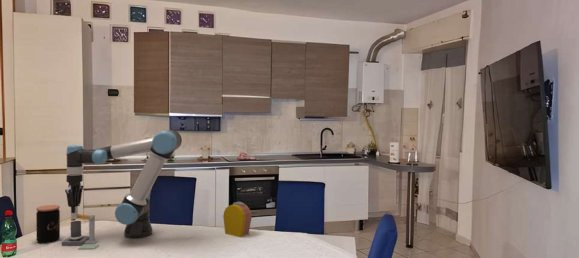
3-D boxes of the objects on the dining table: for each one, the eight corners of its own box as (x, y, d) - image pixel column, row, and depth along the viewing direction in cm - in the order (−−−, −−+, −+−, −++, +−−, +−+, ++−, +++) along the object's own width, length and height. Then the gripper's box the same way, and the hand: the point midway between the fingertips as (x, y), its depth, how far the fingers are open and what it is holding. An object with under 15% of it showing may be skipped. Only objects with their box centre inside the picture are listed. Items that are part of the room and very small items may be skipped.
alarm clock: (251, 234, 228) (252, 203, 227) (242, 237, 221) (243, 205, 220) (232, 229, 236) (232, 199, 235) (223, 233, 229) (223, 202, 228)
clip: (95, 222, 208) (95, 215, 208) (91, 223, 206) (92, 216, 206) (74, 219, 213) (74, 213, 212) (70, 220, 210) (70, 214, 210)
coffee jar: (48, 244, 203) (48, 210, 203) (31, 242, 206) (31, 208, 205) (64, 238, 214) (64, 205, 213) (47, 236, 216) (47, 204, 215)
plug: (83, 240, 210) (83, 220, 210) (79, 244, 205) (79, 223, 204) (72, 241, 210) (72, 220, 209) (68, 244, 204) (67, 223, 204)
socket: (99, 239, 213) (99, 217, 213) (92, 245, 203) (92, 222, 203) (70, 239, 212) (70, 217, 211) (61, 245, 202) (61, 222, 201)
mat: (99, 245, 204) (99, 244, 204) (94, 249, 198) (94, 248, 198) (83, 245, 203) (83, 244, 203) (78, 249, 197) (78, 248, 197)
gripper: (74, 172, 214) (74, 215, 215) (60, 176, 202) (59, 221, 202) (88, 172, 214) (88, 215, 215) (74, 176, 201) (74, 222, 202)
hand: (74, 218), depth 208 cm, fingers closed
